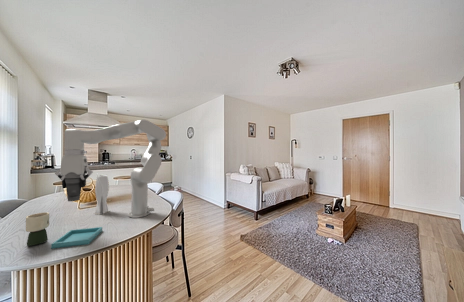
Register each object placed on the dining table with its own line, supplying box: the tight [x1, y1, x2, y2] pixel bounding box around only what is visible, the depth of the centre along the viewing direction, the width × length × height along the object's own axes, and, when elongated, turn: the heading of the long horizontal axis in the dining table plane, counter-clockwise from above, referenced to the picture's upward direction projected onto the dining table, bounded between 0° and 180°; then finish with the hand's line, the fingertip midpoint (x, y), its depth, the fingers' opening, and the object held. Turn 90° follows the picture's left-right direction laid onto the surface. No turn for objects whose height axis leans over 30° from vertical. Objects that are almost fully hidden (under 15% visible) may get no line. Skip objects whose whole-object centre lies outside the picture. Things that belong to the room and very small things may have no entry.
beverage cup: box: [65, 172, 82, 202], centre depth 89 cm, size 7×7×20 cm
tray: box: [50, 226, 103, 249], centre depth 82 cm, size 14×14×2 cm
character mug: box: [25, 211, 50, 247], centre depth 78 cm, size 11×7×13 cm, turn 64°
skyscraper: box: [93, 172, 111, 216], centre depth 118 cm, size 8×8×28 cm
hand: (74, 187), depth 89 cm, fingers closed on beverage cup, 6 cm apart
